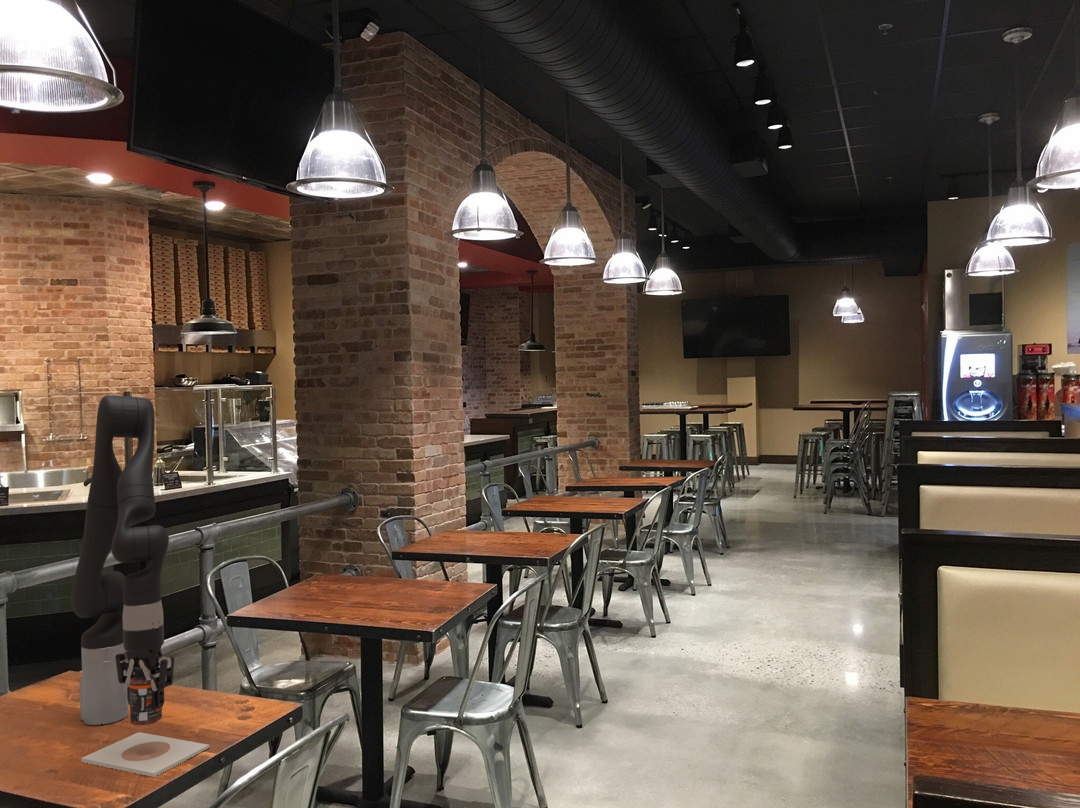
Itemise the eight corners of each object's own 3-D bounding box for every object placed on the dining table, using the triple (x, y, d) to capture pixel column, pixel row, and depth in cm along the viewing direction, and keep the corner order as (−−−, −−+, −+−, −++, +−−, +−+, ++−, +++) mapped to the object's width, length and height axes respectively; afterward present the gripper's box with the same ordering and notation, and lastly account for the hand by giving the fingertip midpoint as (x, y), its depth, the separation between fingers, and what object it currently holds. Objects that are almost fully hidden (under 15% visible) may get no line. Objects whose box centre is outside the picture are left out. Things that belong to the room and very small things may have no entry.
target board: (81, 762, 168) (81, 757, 168) (139, 735, 181) (138, 731, 181) (154, 777, 161) (154, 772, 161) (209, 748, 173) (209, 744, 173)
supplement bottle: (150, 727, 167) (148, 671, 167) (123, 726, 169) (121, 670, 169) (168, 716, 173) (167, 661, 173) (143, 714, 174) (141, 660, 174)
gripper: (102, 626, 170) (104, 708, 170) (154, 631, 165) (157, 716, 165) (132, 617, 177) (135, 696, 177) (184, 621, 172) (186, 703, 172)
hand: (146, 705), depth 171 cm, fingers closed on supplement bottle, 6 cm apart
